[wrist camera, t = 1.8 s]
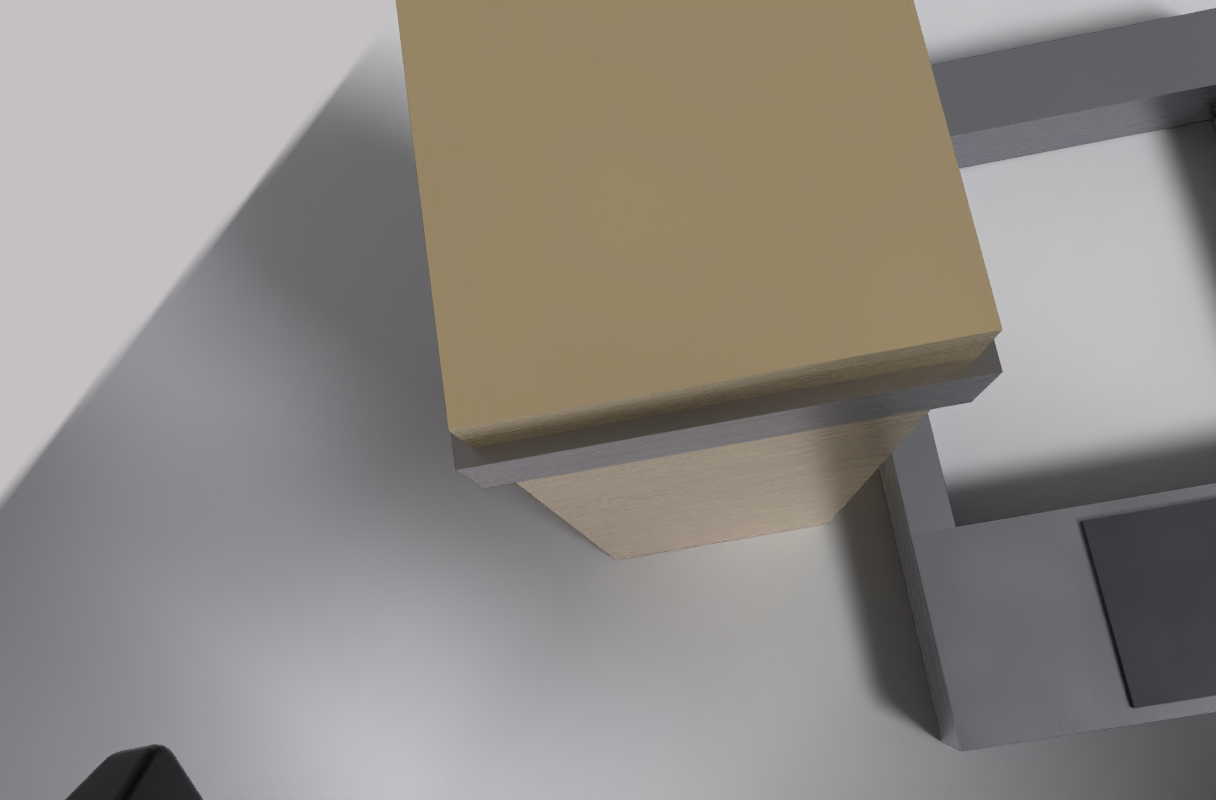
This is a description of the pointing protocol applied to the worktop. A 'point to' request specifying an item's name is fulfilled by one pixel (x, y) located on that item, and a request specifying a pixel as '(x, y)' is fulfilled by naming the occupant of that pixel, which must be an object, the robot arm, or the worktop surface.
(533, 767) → the worktop surface
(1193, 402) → the worktop surface
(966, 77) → the rail plate
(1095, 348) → the worktop surface
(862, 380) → the post
